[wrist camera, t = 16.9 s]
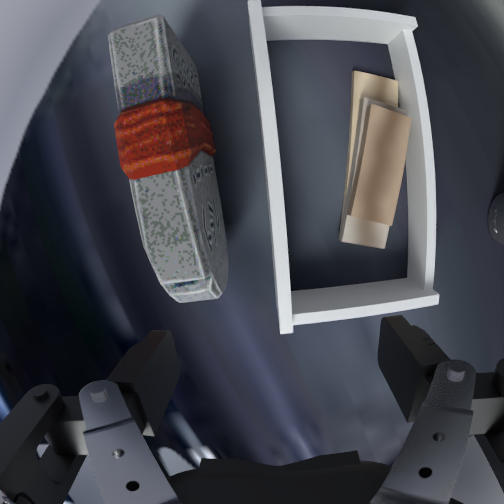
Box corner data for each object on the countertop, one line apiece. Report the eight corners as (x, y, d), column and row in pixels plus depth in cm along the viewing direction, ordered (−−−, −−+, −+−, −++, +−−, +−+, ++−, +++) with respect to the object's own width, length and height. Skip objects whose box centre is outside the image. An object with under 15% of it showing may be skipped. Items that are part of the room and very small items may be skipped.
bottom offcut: (392, 84, 39) (398, 81, 37) (381, 237, 45) (385, 239, 43) (350, 74, 39) (354, 70, 37) (337, 232, 45) (341, 235, 43)
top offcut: (404, 119, 37) (411, 117, 35) (386, 223, 40) (391, 226, 38) (366, 106, 36) (371, 103, 35) (346, 214, 40) (350, 216, 38)
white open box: (394, 37, 36) (421, 11, 26) (414, 285, 45) (445, 309, 36) (249, 33, 37) (247, 0, 27) (276, 302, 46) (280, 333, 37)
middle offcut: (400, 112, 38) (406, 110, 36) (379, 245, 43) (384, 248, 41) (359, 100, 38) (363, 97, 36) (338, 238, 43) (341, 241, 41)
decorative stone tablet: (97, 27, 19) (161, 338, 29) (166, 3, 19) (226, 332, 28) (158, 70, 38) (194, 266, 47) (202, 59, 37) (237, 260, 47)
